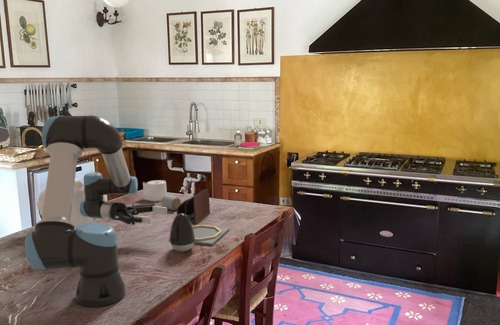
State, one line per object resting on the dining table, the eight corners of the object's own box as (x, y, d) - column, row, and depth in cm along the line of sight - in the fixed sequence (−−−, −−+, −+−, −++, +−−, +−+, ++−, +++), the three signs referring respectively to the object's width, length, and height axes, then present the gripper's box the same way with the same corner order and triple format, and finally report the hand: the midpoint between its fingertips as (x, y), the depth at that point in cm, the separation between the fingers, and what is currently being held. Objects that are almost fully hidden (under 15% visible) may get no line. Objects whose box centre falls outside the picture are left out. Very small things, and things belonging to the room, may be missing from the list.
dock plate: (212, 245, 187) (212, 241, 187) (169, 240, 194) (169, 236, 193) (229, 230, 206) (229, 226, 206) (189, 226, 212) (189, 222, 212)
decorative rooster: (101, 227, 212) (97, 176, 207) (78, 238, 197) (73, 183, 193) (58, 222, 220) (53, 172, 215) (33, 233, 205) (27, 180, 201)
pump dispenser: (198, 251, 181) (197, 215, 178) (172, 255, 177) (171, 218, 175) (192, 243, 190) (190, 208, 188) (167, 246, 187) (166, 211, 184)
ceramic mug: (173, 212, 236) (172, 197, 234) (161, 209, 239) (160, 195, 238) (185, 207, 245) (185, 193, 243) (173, 205, 249) (173, 191, 247)
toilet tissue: (169, 199, 259) (168, 182, 258) (149, 202, 253) (148, 185, 252) (163, 195, 268) (162, 179, 267) (143, 198, 263) (142, 181, 261)
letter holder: (210, 213, 233) (209, 186, 230) (196, 225, 214) (195, 196, 211) (192, 212, 235) (191, 185, 233) (176, 224, 217) (175, 195, 214)
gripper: (131, 210, 204) (173, 215, 198) (96, 229, 181) (142, 234, 174) (130, 194, 203) (172, 198, 196) (95, 211, 179) (141, 215, 173)
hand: (158, 215), depth 185 cm, fingers open, 13 cm apart
